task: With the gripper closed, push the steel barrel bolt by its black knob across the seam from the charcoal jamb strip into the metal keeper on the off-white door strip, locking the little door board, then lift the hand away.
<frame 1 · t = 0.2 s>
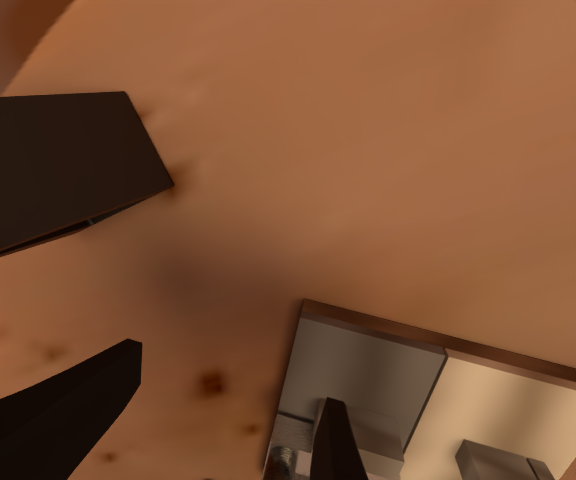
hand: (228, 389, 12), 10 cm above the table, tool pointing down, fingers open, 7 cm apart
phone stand: (102, 168, 21), on the table
door and jamb: (399, 428, 23), on the table
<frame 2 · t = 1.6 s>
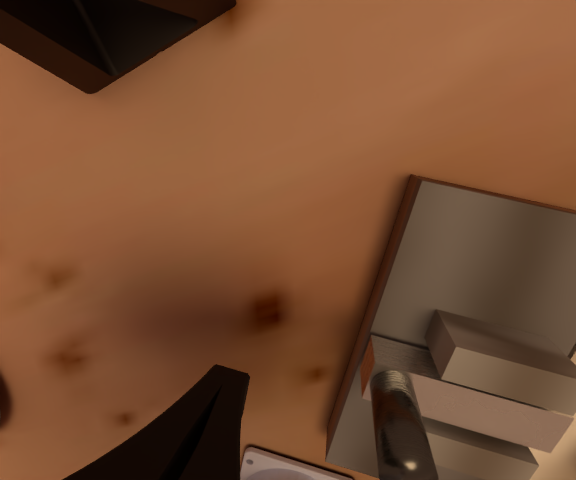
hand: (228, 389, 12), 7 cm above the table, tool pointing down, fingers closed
bolt: (470, 426, 12), point 6 cm above the table, slide at 0.0 cm
door and jamb: (525, 365, 17), on the table
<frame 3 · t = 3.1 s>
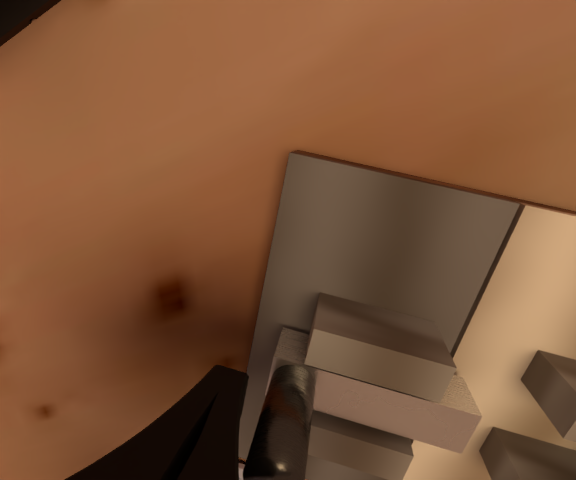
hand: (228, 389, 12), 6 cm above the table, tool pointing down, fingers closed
bolt: (368, 425, 11), point 6 cm above the table, slide at 1.3 cm, touching gripper
door and jamb: (431, 353, 16), on the table
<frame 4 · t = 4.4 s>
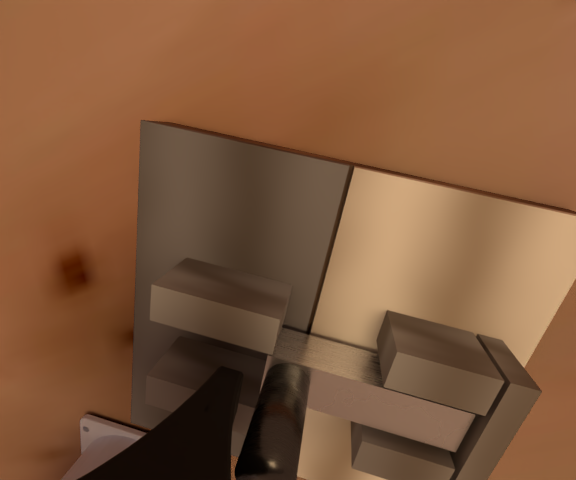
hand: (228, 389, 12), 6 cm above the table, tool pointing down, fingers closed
bolt: (362, 423, 11), point 6 cm above the table, slide at 7.3 cm, touching gripper
door and jamb: (315, 321, 17), on the table
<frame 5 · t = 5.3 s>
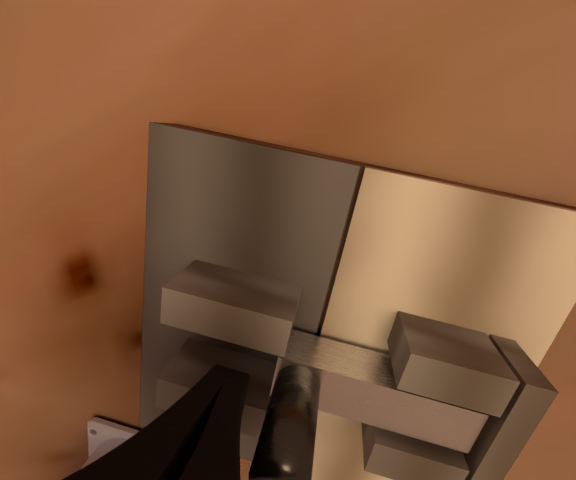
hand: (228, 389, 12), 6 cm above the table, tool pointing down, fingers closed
bolt: (374, 425, 11), point 6 cm above the table, slide at 7.2 cm
door and jamb: (323, 322, 17), on the table
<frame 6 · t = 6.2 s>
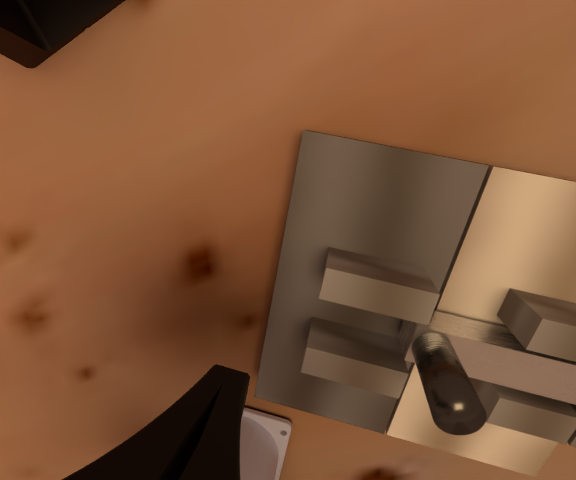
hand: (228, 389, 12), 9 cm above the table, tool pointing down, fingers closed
bolt: (506, 379, 14), point 6 cm above the table, slide at 7.2 cm
door and jamb: (424, 303, 19), on the table
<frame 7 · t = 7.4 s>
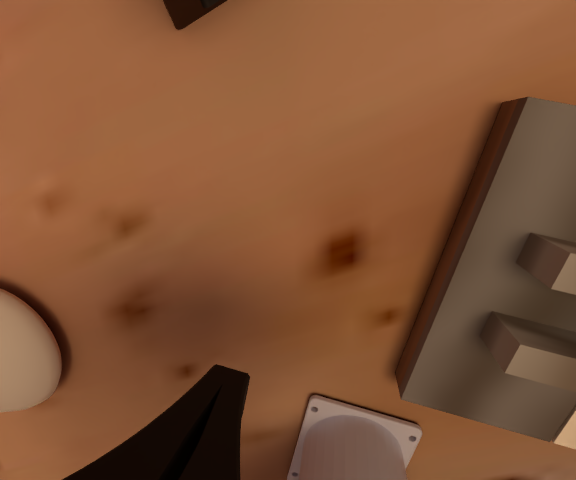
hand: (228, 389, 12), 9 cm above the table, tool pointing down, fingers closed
flower in vase: (16, 341, 27), on the table
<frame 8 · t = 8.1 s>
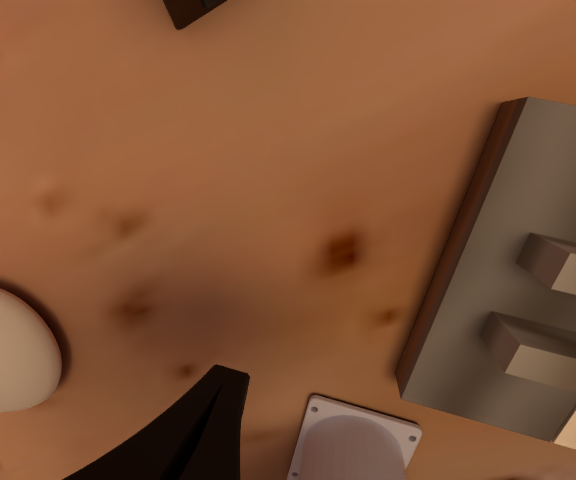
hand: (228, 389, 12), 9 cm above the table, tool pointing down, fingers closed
flower in vase: (16, 341, 27), on the table
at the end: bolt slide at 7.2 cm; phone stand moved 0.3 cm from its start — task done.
